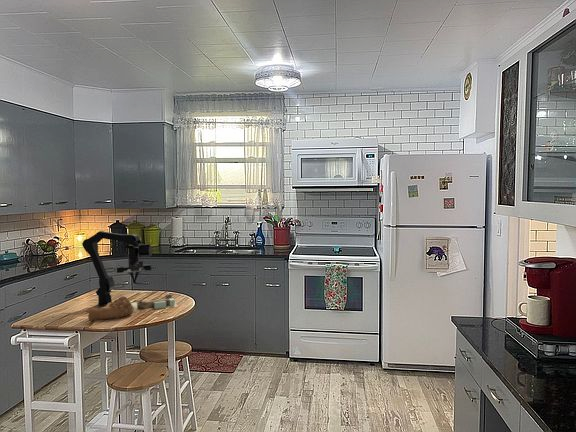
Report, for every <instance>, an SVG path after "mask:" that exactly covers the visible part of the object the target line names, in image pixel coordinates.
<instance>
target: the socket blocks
mask: <svg viewBox="0 0 576 432" xmlns="http://www.w3.org/2000/svg"><path fill="white" fill-rule="evenodd" d="M168 300H169V305H170V306H175V303H176V300H175V298H173V297H172V298H170V299H168ZM154 308H155V309H154V310H158V308H159V309H166V301H160V302H154Z"/></svg>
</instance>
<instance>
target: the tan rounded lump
mask: <svg viewBox="0 0 576 432" xmlns="http://www.w3.org/2000/svg"><path fill="white" fill-rule="evenodd" d="M131 303H132V302H131V301H130V300H129V298H127V296H120V297H118V298H117V299H115V300H113V302H112V301H111V302H110V303H109V305H108V306H106V307H100V308H98V307H91V308H89V310H88V315H87V316H88V320H89V321H90V322H95V321H97V320H101V321H102V320H103V321H104V320H113V319H114V320H115V319H119V318H123V317H126V316H131V315H132V314H133V311H134V309H133V307H132V305H131Z"/></svg>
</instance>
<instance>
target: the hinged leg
mask: <svg viewBox="0 0 576 432" xmlns="http://www.w3.org/2000/svg"><path fill="white" fill-rule="evenodd" d="M160 301H166V305H169V300H168V299H166V298H163V299H162V298H161V299H155V300H154V299H153V300H145V301H143V300H140V301H136V302H137V308H138V309H143V308H150V307H154V302H160Z"/></svg>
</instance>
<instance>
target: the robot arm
mask: <svg viewBox="0 0 576 432" xmlns="http://www.w3.org/2000/svg"><path fill="white" fill-rule="evenodd" d="M103 239H104V240H111V241H117V242H122V243H124V244H126V245H125V246H124V247H123V249H125V250H127V258H128V259H127V264H128V267H124V265H122V266H116V267H115V271H116V273H117V274H119V273H121V274H122V273H124V272H125V271H126V273H127V274H129V275H130V277H131V280H132V283H133V284H136V282H137V278H138V276H139V274H140V273H142V270H144V271H152V265H151V264H149V263H148V264H145V263H144V261H142V260H141V261H140V259H139V258H140V257H151V256H152V255H153V247H152V245H151V243H147V244H144V243H143V242H142V240H141V239H140V236H139V235H138V234H136V233H128V234H127V233H115V232H109V231H105V230H101V231H100V230H99V231H97V232H96V233H95V234H93V235H91V236H90V237H89V238H84V239H83V241H82V242H81V244H82V247H83V249H84V251H85V252H86V253H87V254H88V256H90V259H91V262H92V264H93V266H94V269H95V271H96V274H97V277H98V285H99V288H98V289H97V290H95V294H96V295H97V296H98V303H97V304H98V306H101V307H102V306H107V305H108V304H110V303H112V295H111V292H112V290H113V289H114V288H115V280H114V277H113V276H112V275H111V276H109V275H108V274H107V271H106V268H105V265H104V263H103V260H102V258H101V256H100V253H99V242H101V241H102V240H103ZM139 256H140V257H139Z"/></svg>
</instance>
